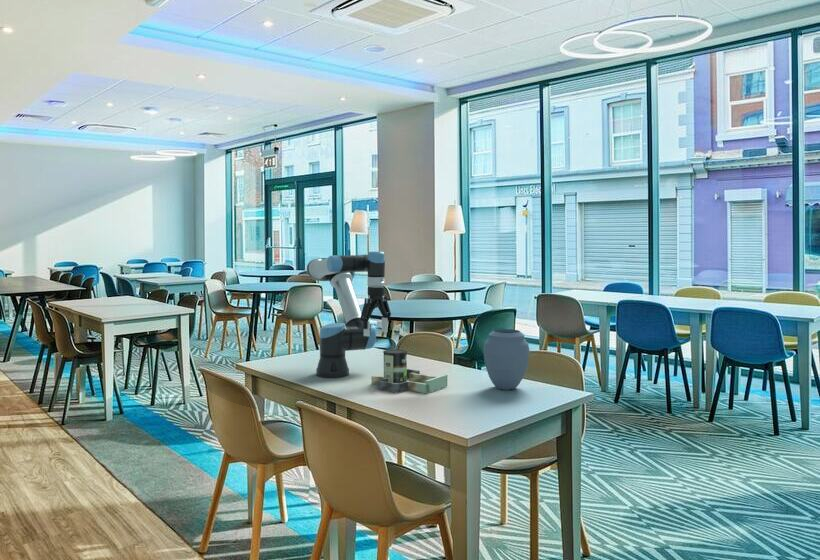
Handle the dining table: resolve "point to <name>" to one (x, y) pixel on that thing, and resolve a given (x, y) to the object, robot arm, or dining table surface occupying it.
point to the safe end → (433, 384)
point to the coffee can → (395, 365)
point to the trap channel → (408, 385)
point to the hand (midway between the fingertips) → (375, 334)
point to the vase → (506, 357)
